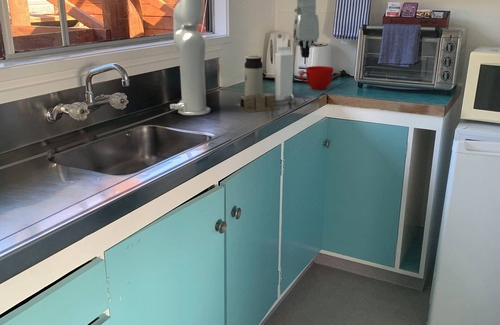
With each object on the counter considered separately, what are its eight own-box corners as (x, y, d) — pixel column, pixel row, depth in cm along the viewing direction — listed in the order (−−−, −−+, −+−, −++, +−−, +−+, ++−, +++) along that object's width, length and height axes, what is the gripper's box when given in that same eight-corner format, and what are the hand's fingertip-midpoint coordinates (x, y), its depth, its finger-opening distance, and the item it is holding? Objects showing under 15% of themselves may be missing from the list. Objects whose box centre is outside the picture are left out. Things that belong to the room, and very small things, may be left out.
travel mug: (263, 94, 231) (263, 55, 225) (261, 98, 224) (261, 57, 218) (246, 94, 232) (245, 55, 226) (244, 98, 224) (243, 57, 219)
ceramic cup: (293, 88, 245) (293, 67, 242) (322, 85, 252) (323, 65, 249) (307, 93, 234) (307, 71, 231) (337, 89, 241) (338, 68, 238)
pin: (260, 106, 206) (260, 98, 205) (257, 104, 208) (257, 96, 207) (294, 102, 212) (294, 94, 211) (290, 100, 215) (290, 93, 214)
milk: (274, 95, 229) (274, 46, 222) (286, 94, 231) (287, 45, 224) (280, 98, 224) (280, 47, 217) (292, 97, 226) (293, 47, 219)
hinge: (249, 112, 199) (249, 100, 197) (236, 106, 210) (235, 94, 208) (280, 108, 204) (280, 96, 203) (266, 102, 215) (266, 91, 214)
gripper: (294, 12, 197) (294, 59, 203) (327, 11, 203) (325, 57, 209) (285, 11, 204) (285, 57, 210) (317, 10, 210) (315, 55, 216)
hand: (305, 57), depth 210 cm, fingers closed
